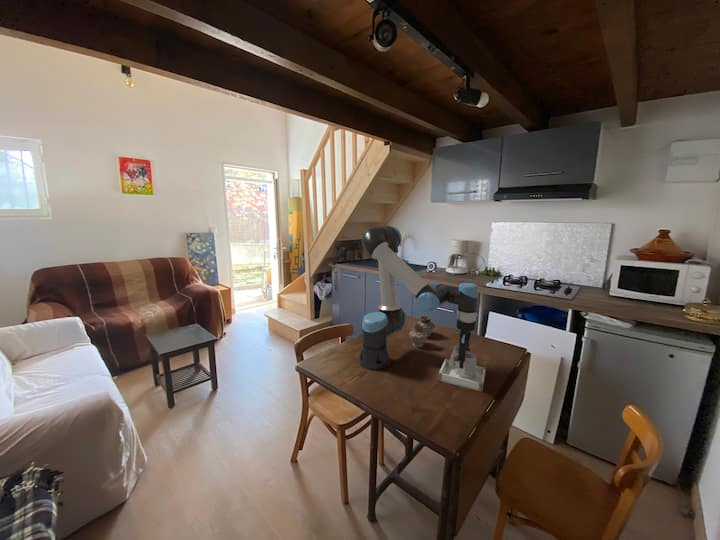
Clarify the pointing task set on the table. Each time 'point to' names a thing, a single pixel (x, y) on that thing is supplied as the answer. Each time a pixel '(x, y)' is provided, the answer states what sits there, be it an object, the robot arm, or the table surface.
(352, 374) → the table surface
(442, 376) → the crate
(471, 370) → the mug
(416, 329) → the pottery
